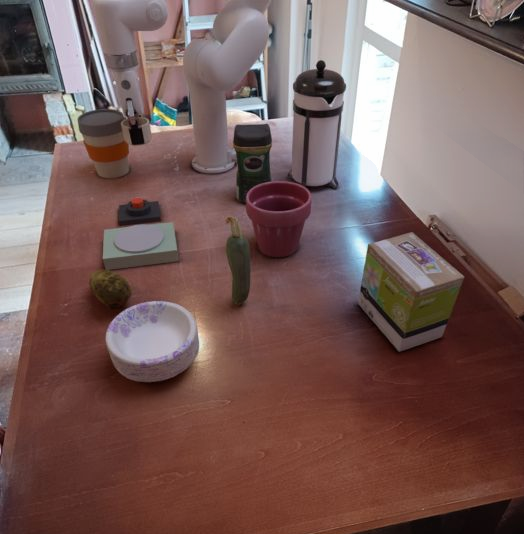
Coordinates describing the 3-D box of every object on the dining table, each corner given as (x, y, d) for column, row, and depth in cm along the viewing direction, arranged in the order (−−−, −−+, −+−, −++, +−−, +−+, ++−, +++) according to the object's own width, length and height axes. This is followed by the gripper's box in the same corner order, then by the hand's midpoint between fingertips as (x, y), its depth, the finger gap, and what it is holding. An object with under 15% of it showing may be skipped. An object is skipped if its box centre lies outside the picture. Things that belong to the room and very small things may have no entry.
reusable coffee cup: (115, 158, 144) (102, 105, 134) (144, 168, 139) (134, 114, 129) (82, 173, 137) (66, 119, 127) (111, 185, 132) (97, 129, 121)
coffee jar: (271, 189, 130) (271, 118, 116) (273, 204, 124) (273, 131, 111) (235, 190, 130) (232, 119, 116) (235, 205, 124) (232, 132, 111)
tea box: (355, 304, 96) (366, 241, 85) (397, 292, 99) (413, 229, 88) (398, 354, 86) (417, 290, 76) (443, 338, 89) (467, 274, 78)
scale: (174, 232, 115) (172, 219, 112) (178, 261, 107) (176, 247, 104) (107, 240, 113) (103, 227, 110) (105, 270, 105) (101, 256, 102)
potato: (134, 279, 102) (126, 247, 97) (135, 318, 94) (127, 286, 88) (94, 284, 101) (84, 252, 95) (92, 324, 92) (80, 292, 87)
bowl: (151, 133, 126) (148, 115, 123) (152, 144, 121) (149, 126, 118) (125, 136, 125) (121, 118, 122) (125, 147, 120) (120, 129, 117)
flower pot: (254, 227, 117) (253, 177, 107) (312, 233, 114) (315, 182, 105) (241, 260, 107) (238, 208, 98) (303, 267, 105) (306, 215, 96)
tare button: (143, 202, 120) (142, 197, 119) (144, 208, 118) (142, 202, 117) (132, 204, 120) (131, 198, 119) (132, 209, 118) (131, 203, 117)
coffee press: (350, 176, 135) (365, 56, 113) (324, 200, 125) (335, 73, 104) (296, 162, 141) (302, 46, 120) (268, 184, 132) (268, 61, 110)
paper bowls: (163, 407, 78) (155, 375, 72) (97, 371, 84) (84, 339, 78) (218, 351, 87) (214, 318, 81) (154, 321, 93) (147, 289, 87)
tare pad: (159, 205, 124) (157, 195, 122) (161, 221, 119) (159, 210, 117) (120, 209, 123) (117, 199, 121) (120, 226, 117) (117, 215, 115)
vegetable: (254, 301, 97) (252, 212, 83) (247, 314, 94) (243, 225, 80) (234, 296, 98) (229, 208, 84) (226, 310, 95) (219, 220, 81)
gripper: (139, 69, 104) (154, 150, 117) (137, 48, 116) (151, 123, 129) (104, 72, 103) (123, 153, 116) (106, 50, 115) (123, 126, 128)
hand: (138, 137), depth 123 cm, fingers closed on bowl, 7 cm apart
